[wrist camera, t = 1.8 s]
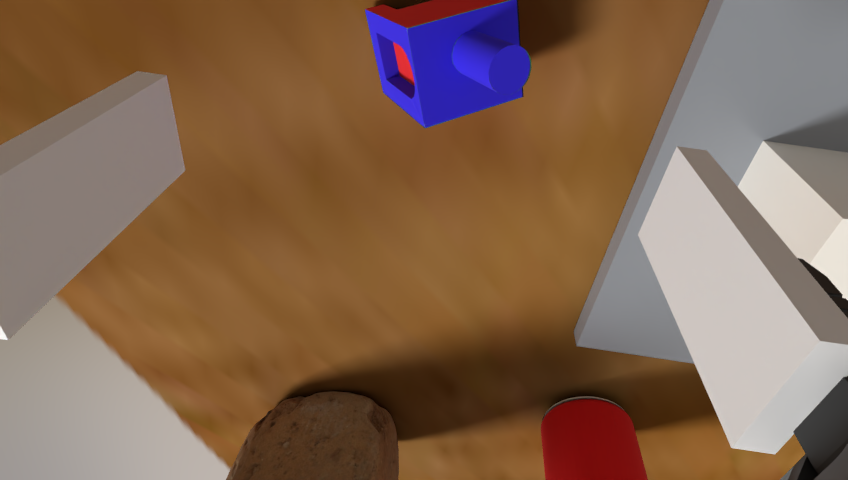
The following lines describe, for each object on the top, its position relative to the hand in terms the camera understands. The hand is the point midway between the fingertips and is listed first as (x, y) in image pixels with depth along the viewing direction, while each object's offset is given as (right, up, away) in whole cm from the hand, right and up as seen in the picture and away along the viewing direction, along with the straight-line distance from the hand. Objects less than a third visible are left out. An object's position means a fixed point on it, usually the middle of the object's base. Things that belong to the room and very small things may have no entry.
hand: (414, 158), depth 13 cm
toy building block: (+1, +6, +8) cm, 11 cm away
